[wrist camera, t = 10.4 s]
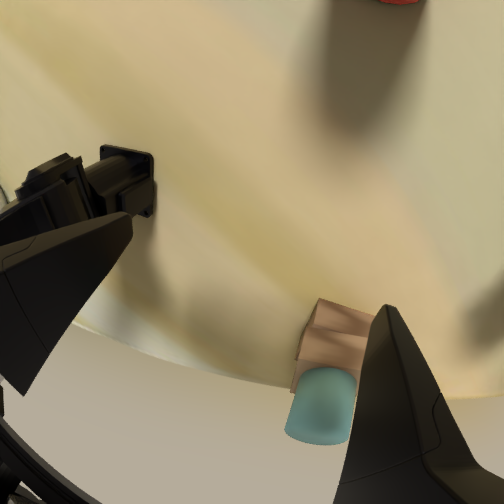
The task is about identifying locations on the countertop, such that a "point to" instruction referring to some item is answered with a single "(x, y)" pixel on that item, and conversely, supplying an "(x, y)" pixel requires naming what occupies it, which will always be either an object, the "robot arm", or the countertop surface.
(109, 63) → the countertop surface
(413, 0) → the beer can
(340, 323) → the bottom slab
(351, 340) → the stepped brown block
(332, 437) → the teal rounded cylinder
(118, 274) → the countertop surface
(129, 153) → the robot arm
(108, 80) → the countertop surface
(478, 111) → the countertop surface
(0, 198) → the cereal bowl
